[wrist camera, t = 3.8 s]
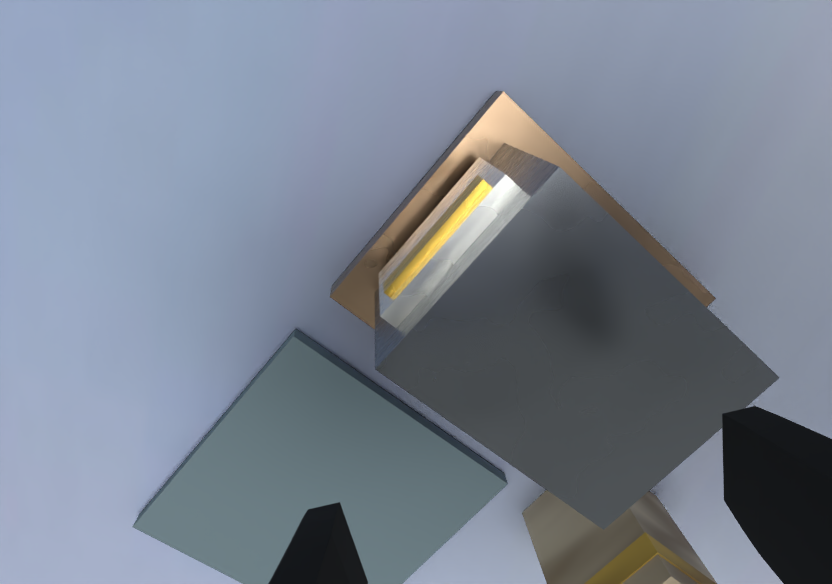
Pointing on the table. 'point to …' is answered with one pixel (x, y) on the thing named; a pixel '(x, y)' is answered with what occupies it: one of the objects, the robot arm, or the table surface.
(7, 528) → the table surface
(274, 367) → the mat
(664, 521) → the block
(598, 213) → the mounted unit
